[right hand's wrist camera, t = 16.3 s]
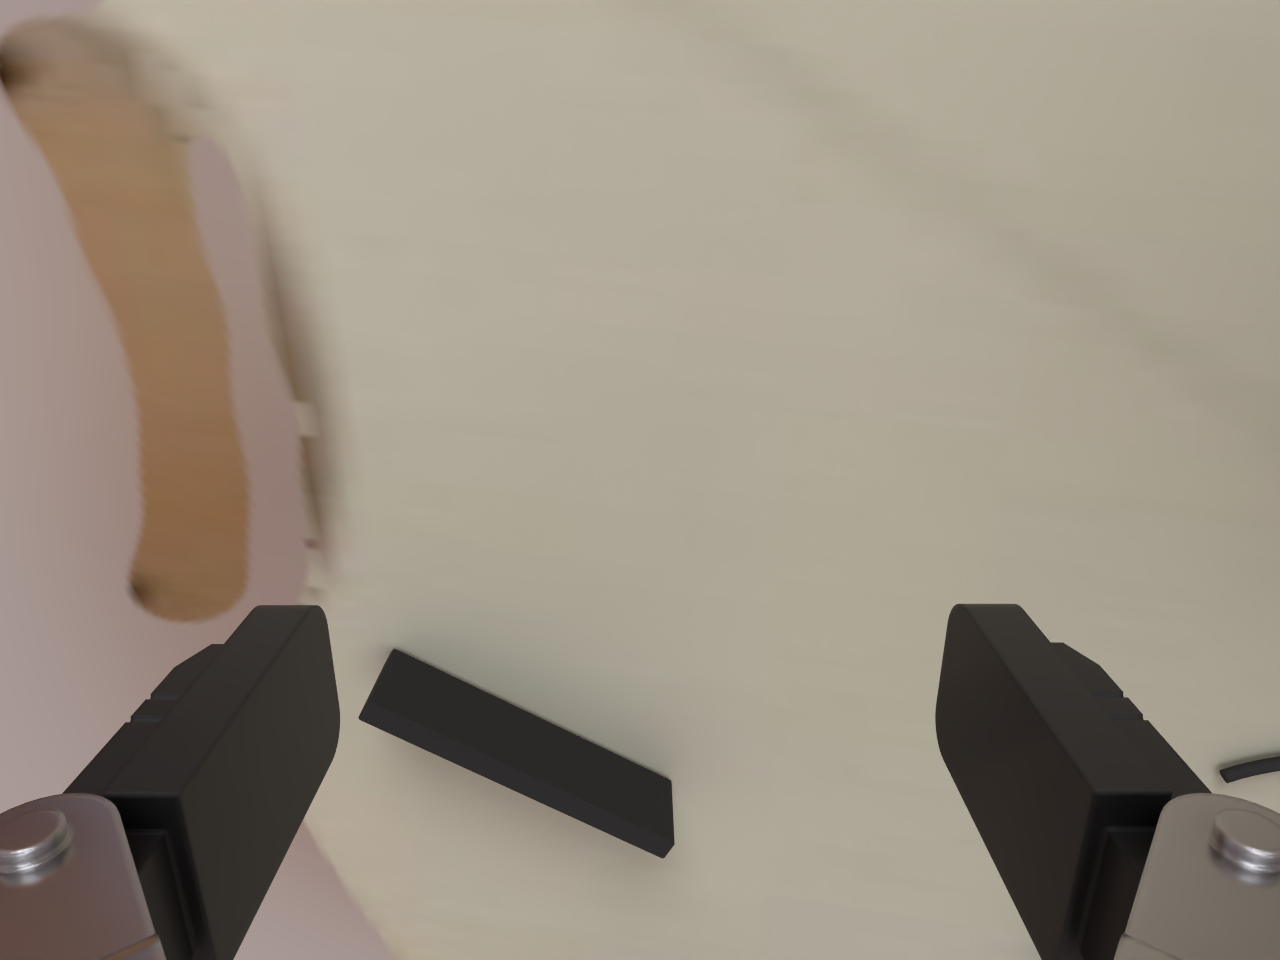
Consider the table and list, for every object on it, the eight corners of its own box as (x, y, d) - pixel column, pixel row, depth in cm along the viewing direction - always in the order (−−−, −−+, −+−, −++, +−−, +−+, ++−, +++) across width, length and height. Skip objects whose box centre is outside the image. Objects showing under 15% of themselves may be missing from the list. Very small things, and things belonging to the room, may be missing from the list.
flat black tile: (384, 665, 48) (356, 721, 44) (393, 647, 48) (367, 701, 43) (660, 796, 51) (662, 861, 47) (672, 780, 51) (675, 844, 46)
